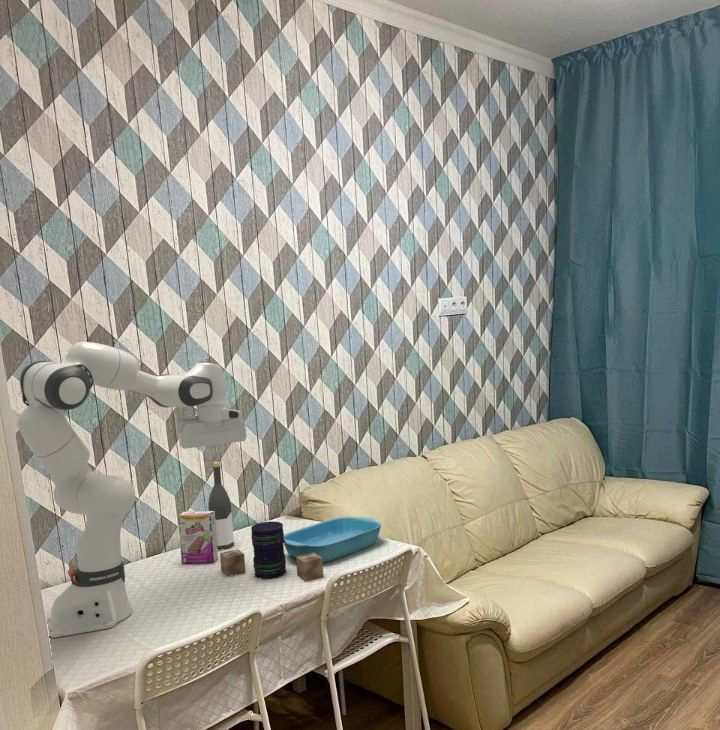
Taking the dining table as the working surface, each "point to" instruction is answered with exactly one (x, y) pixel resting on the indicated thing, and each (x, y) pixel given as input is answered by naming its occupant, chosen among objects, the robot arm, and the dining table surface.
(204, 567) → the dining table surface
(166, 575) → the dining table surface
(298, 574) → the walnut block one
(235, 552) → the walnut block seven
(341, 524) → the casserole dish
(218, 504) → the wine bottle
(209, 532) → the candy bar box
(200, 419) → the robot arm
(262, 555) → the dark blue rusty barrel
